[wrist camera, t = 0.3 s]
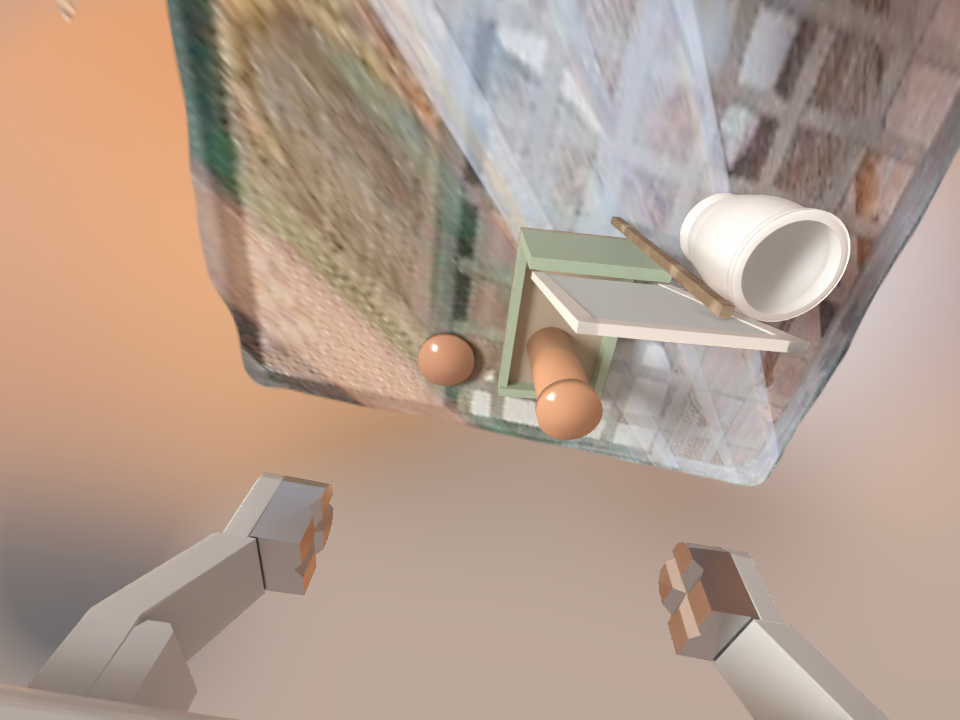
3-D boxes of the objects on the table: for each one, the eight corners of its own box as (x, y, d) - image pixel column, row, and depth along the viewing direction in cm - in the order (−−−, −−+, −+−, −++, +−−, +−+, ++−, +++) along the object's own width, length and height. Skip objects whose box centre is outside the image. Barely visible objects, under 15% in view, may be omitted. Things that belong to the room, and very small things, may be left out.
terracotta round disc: (420, 330, 60) (419, 334, 59) (476, 335, 60) (477, 339, 59) (417, 378, 64) (416, 383, 63) (471, 383, 64) (471, 387, 63)
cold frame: (520, 227, 53) (531, 256, 43) (635, 239, 54) (674, 271, 44) (497, 383, 64) (502, 437, 54) (594, 391, 65) (617, 446, 55)
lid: (531, 278, 43) (532, 271, 43) (668, 291, 44) (670, 284, 44) (576, 333, 25) (578, 321, 25) (806, 354, 26) (810, 342, 26)
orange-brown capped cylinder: (527, 321, 58) (543, 384, 45) (579, 326, 59) (609, 389, 46) (520, 367, 62) (532, 437, 49) (569, 371, 62) (594, 442, 49)
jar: (684, 179, 51) (756, 205, 38) (773, 185, 51) (874, 213, 38) (659, 270, 56) (715, 320, 43) (740, 275, 57) (820, 326, 44)
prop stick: (612, 216, 53) (722, 305, 29) (619, 217, 53) (734, 306, 30) (611, 223, 53) (718, 316, 30) (617, 224, 53) (729, 318, 30)
